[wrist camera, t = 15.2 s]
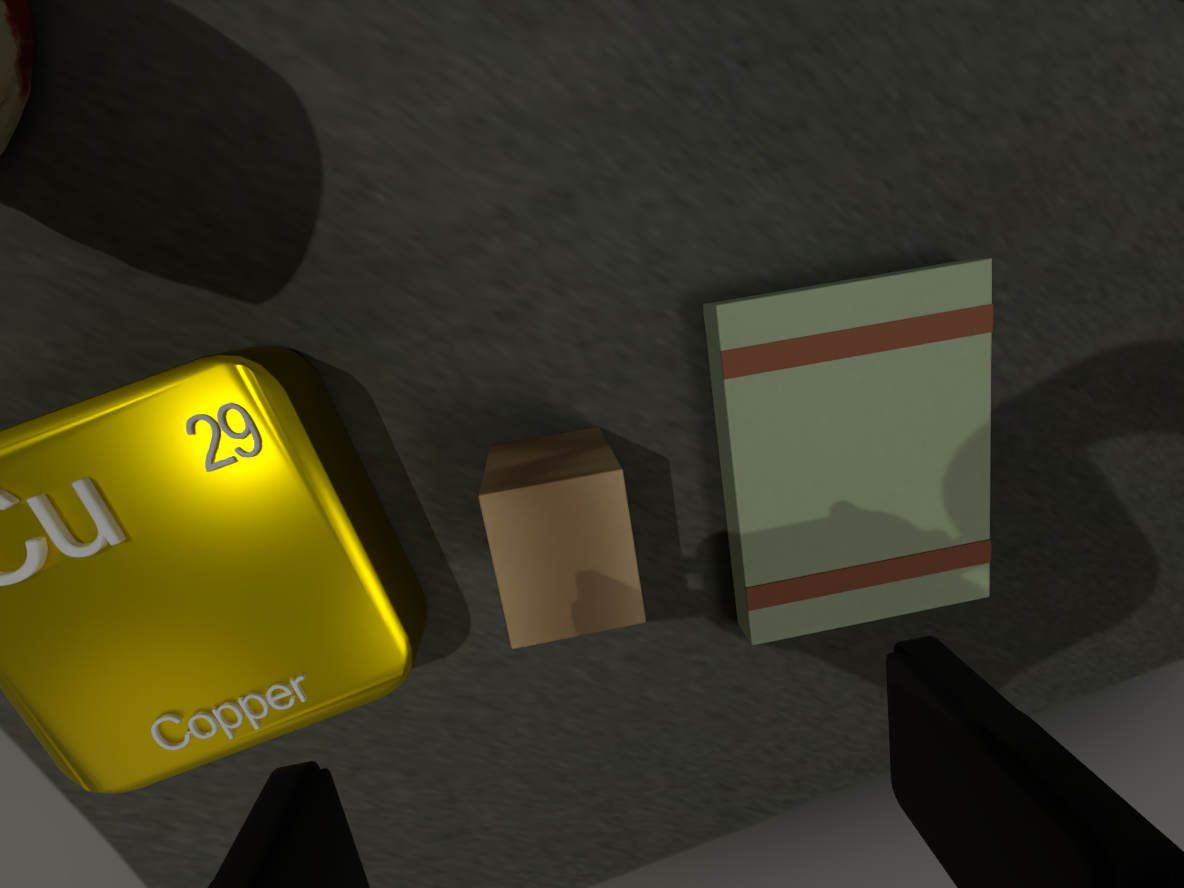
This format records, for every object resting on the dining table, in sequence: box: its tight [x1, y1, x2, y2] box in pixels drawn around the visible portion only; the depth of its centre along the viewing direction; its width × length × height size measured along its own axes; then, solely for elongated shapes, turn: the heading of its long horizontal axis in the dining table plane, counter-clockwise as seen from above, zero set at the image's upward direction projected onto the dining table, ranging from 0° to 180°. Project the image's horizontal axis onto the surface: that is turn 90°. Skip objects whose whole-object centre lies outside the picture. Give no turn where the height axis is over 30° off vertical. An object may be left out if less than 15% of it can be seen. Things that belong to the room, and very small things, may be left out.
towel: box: [703, 259, 993, 645], centre depth 28 cm, size 12×16×2 cm
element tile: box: [0, 345, 427, 793], centre depth 25 cm, size 15×15×5 cm
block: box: [479, 427, 646, 649], centre depth 25 cm, size 5×6×7 cm
